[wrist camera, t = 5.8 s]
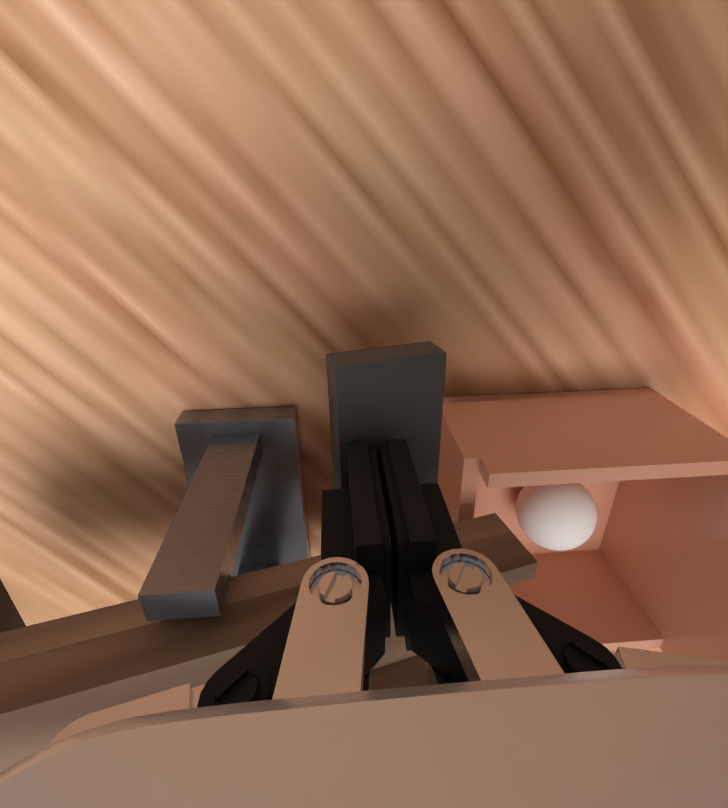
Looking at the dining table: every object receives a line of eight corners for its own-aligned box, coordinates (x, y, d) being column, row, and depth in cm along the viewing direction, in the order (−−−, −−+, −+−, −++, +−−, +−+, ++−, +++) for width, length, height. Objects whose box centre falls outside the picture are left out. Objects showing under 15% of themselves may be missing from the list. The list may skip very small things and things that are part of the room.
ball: (520, 454, 22) (521, 498, 19) (598, 465, 21) (612, 513, 18) (511, 510, 24) (511, 558, 21) (582, 522, 23) (593, 574, 20)
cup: (435, 397, 20) (502, 538, 12) (649, 387, 21) (848, 517, 13) (425, 560, 25) (469, 740, 17) (601, 548, 25) (725, 718, 17)
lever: (-297, 386, 11) (-779, 579, 5) (471, 305, 16) (597, 364, 11) (-54, 705, 16) (-174, 942, 11) (447, 569, 22) (520, 689, 17)
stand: (183, 411, 20) (72, 583, 11) (295, 405, 20) (268, 570, 12) (220, 572, 24) (160, 781, 16) (311, 566, 25) (300, 768, 16)
